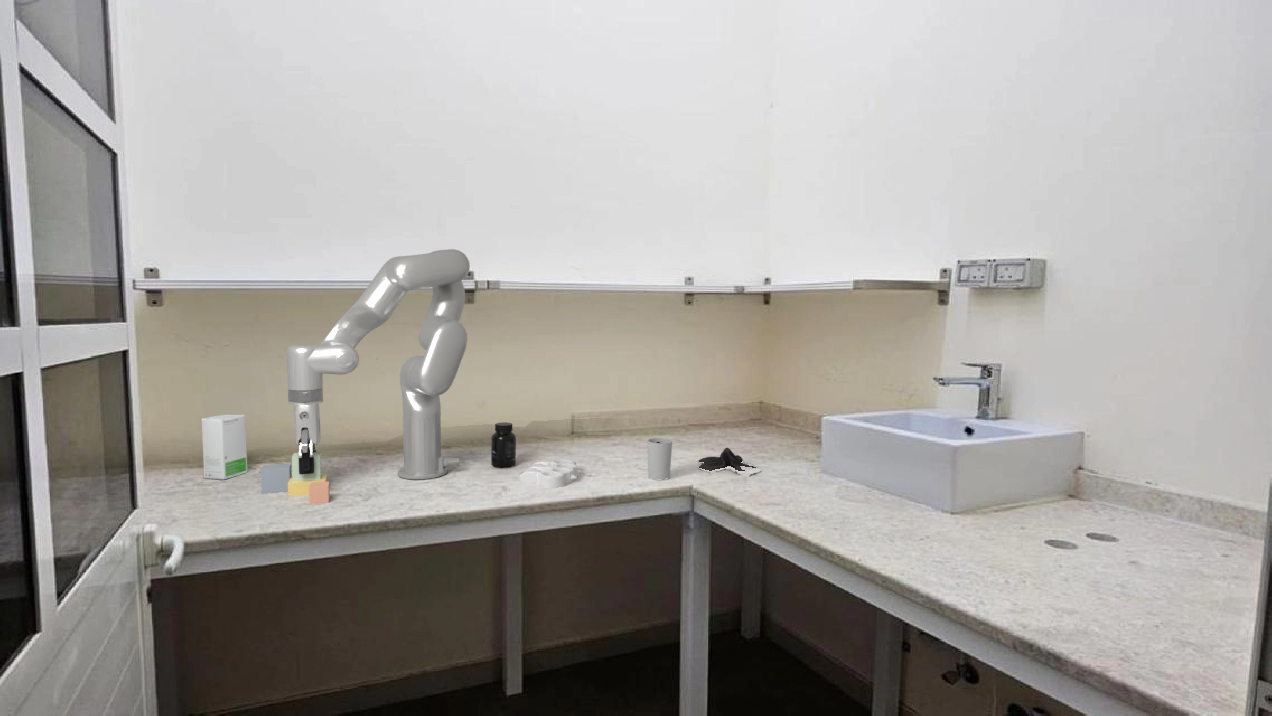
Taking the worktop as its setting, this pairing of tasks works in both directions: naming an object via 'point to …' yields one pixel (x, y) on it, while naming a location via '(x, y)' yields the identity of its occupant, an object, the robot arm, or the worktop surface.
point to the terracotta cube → (319, 492)
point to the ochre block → (302, 486)
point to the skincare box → (224, 446)
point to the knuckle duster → (551, 473)
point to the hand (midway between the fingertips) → (307, 469)
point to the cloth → (723, 461)
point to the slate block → (275, 478)
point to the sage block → (306, 477)
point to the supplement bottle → (503, 446)
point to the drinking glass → (659, 458)
